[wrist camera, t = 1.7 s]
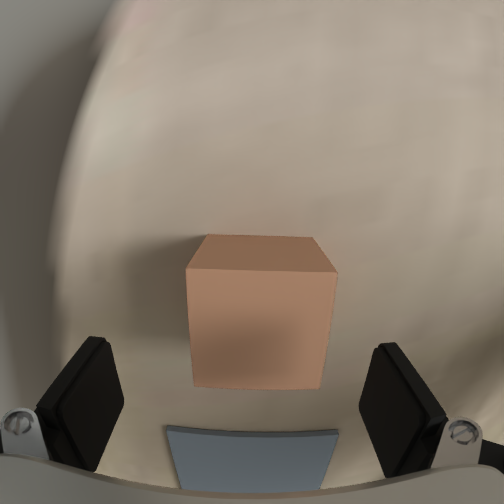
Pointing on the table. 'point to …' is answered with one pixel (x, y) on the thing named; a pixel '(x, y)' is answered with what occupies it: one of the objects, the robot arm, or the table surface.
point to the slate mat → (250, 459)
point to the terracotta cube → (259, 312)
